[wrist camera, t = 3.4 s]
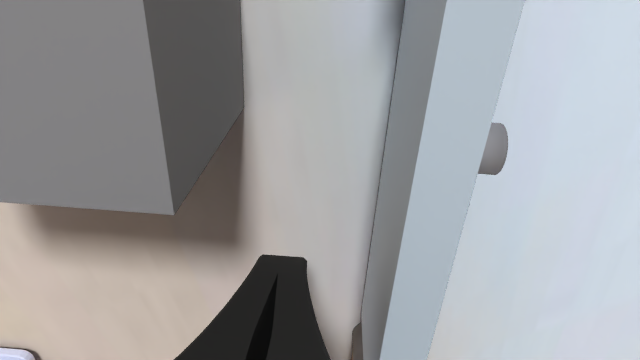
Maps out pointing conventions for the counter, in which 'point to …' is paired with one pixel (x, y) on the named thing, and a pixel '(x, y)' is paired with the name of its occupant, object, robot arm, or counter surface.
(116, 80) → the doorstop block
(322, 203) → the counter surface
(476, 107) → the door
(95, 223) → the counter surface
